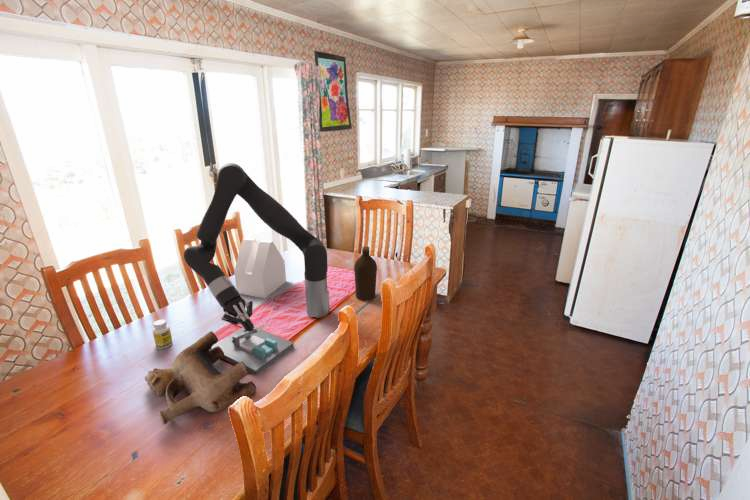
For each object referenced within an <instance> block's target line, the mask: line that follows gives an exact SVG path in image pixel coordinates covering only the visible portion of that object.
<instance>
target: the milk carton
mask: <svg viewBox="0 0 750 500" xmlns="http://www.w3.org/2000/svg"><path fill="white" fill-rule="evenodd" d="M285 261H286V260H285V259H284V258H283V256H282V254H281V253H280V251H279V249H278V248H277V246H276V244H275V243H274V241H272V240H265V239H261V240H260V241H259V242H258V241H257V239H255V238H251V237H250V238H249V237H244V238H242V241H241V243H240V248H239V251H238V255H237V259H236V264H235V267H234V273H233V274H234V280H235V288H236V289H237V291H238V292H239V294H240V295H245V296H252V297H257V298H263V299H266V298H267V297H268V296H270V295H271V294H272V293H273V292H275V291H276V290H277V289H278V288H280V287H281V286H282V285H284V284H285V283H286V282H287V273H286V263H285Z"/></svg>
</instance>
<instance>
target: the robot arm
mask: <svg viewBox="0 0 750 500" xmlns="http://www.w3.org/2000/svg"><path fill="white" fill-rule="evenodd" d="M237 195H238V196H239V197H240V198H241V199H243V200H244V202H246V203H247V204H248V206H249V207H250V208H251V209H252V211H253V212H254V213H255V214H256V215H257V216H258V218H260V220H261V221H262V222H264V224H266V225H267V226H268V227H269V228H270V229H271V230H273V231H274V232H276V233H278V235H280V236H283V237H285V238H286V239H288V240H289V241H291V242H292V243H293V244H294V245H295V247H297V248H298V249H299V250H300V251H301V252H302V254H303V258H304V259H303V260H304V262H303V263H304V285H305V286H304V288H305V302H306V305H305V306H306V315H307V314H308V315H309V316H308V315H307V316H308V317H310V316H311V317H310V318H312V317H316V318H315V319H317V318H318V319H320V318H324V317H325V316H327V315H328V313H329V311H330V292H329V290H328V276H327V275H328V274H327V273H328V252H327V248H326V247H325V245H324V243H323V242H322V241H321V240H320V239H318V238H317V237H316V236H314V235H313V234H312V233H310V232H309V231H308V230H306V229H305V227H303V226H302V225H301V223H300V222H298V220H297V219H296V218H295V217H294V216H293V215H292V214H291V213H290V212H289V211H288V210H287V209H286V208H285V207H284V206H283V205H282V204H281V203H280V202H278V201H277V200H276V199H275V198H273V196H271V195H270V194H268V192H266V191H264V189H262V188H260V187H259V186H258V185H257V183H256V182H255V181H254V180H253V179H252V178H251V177H250V176H249V175H248V174H247V172H246V171H245V170H244V168H242V167H241V166H240V165H239V164H236V163H233V162H228V163H227V162H226V163H224V164H222V166H221V167H220V168H219V169H218V172H217V180H216V186H215V190H214V193H213V196H212V199H211V202H210V204H209V206H208V208H207V210H206V212H205V213H204V216H203V217H202V220H201V223H200V224H199V226H198V230H197V231H196V238H197V239H198V240H199V241H200V242H199V245H194V246H193V245H192V246H189V247H187V248H186V249H185V250H184V252H183V258H184V261H185V264H187V266H188V267H189V268H190V269H191V270H193V271H194V272H195V273H196V274H197V275H198V276H200V277H201V278H202V280H203V281H204V283H205V284H206V285H207V287H208V289H209V291H210V292H211V295H212V296H213V297H214V298H215V300H216V301H217V303H218V304H219V306H220V307H221V308H222V309H223V310H222V311H223V315H222V317H221V320H222V321H224V322H226V323H230V324H233V325H236V326H237V325H241V326H242V327H244V328H245V330H246V331H248V332H249V331H251V330H253V329H254V326H255V325H254V323H253V322H252V320H251V319H250V318H251V317H252V316H253V308H254V307H253V305H254V304H253V303H254V302H253V301H252V300H250V301H246V300H245V299H244V298H242V297H241V294H240V293H239V292H238V291H237V288H236V286H235V285H234V284H233V282H232V281H231V280H230V278H229V277H228V276H227V275H226V274H225V273H224V271H223V269H222V268H221V267H220V266H219V265H218V264H214V263H211V262H212V260H213V259H214V258H215V255H216V250H217V242H218V239H219V235H220V234H221V231H222V228H223V226H224V223H225V220H226V218H227V215H228V213H229V209H230V207H231V206H232V203H233V201H234V199H235V198H236V196H237Z"/></svg>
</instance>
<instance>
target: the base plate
mask: <svg viewBox="0 0 750 500" xmlns="http://www.w3.org/2000/svg"><path fill="white" fill-rule="evenodd" d="M256 327H257V326H255V325H254V328H256ZM245 332H247V331H246V330H245V328H244V327H243V326H242V327H241V328H239V329H238V330H236V331H234V332H232V333H231V334H229V335H227V336H225V337H223V338H222V339H221V340H218V342H217V343H216V344H214V345H212V347H211V348H210V349H209V350H211V349H213V348H215V347H216V346H219V347H220V348H221V349H222V350H223V352H224V357H223V358H222V359H223V360H225V361H227V362H229V363H231V364H233V365H234V366H235V365H237V364H238V363H240V362H243V363H244V364H245V366H246V367H247V369H248V371H249V373H251V374H253V375H255V376H258V375H259V374H260V373H262V372H263V371H264V370H266V369H267V368H268V367H270V366H271V365H272V364H274V363H275V362H276V361H278V359H280V358H282V357H283V356H284V355H285V354H286V353H288V352H290V351H291V350H292V349H294V342H293V341H290V340H288V339H285V338H284V337H280V336H279V335H276V334H273V333H271V332H269V331H266V330H264V329H262V330H260V331H259V332H257V333H254V334H252V335H249V336H247V337H244V338H242V339H240V340H239V336H240V335H241V334H243V333H245Z"/></svg>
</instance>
